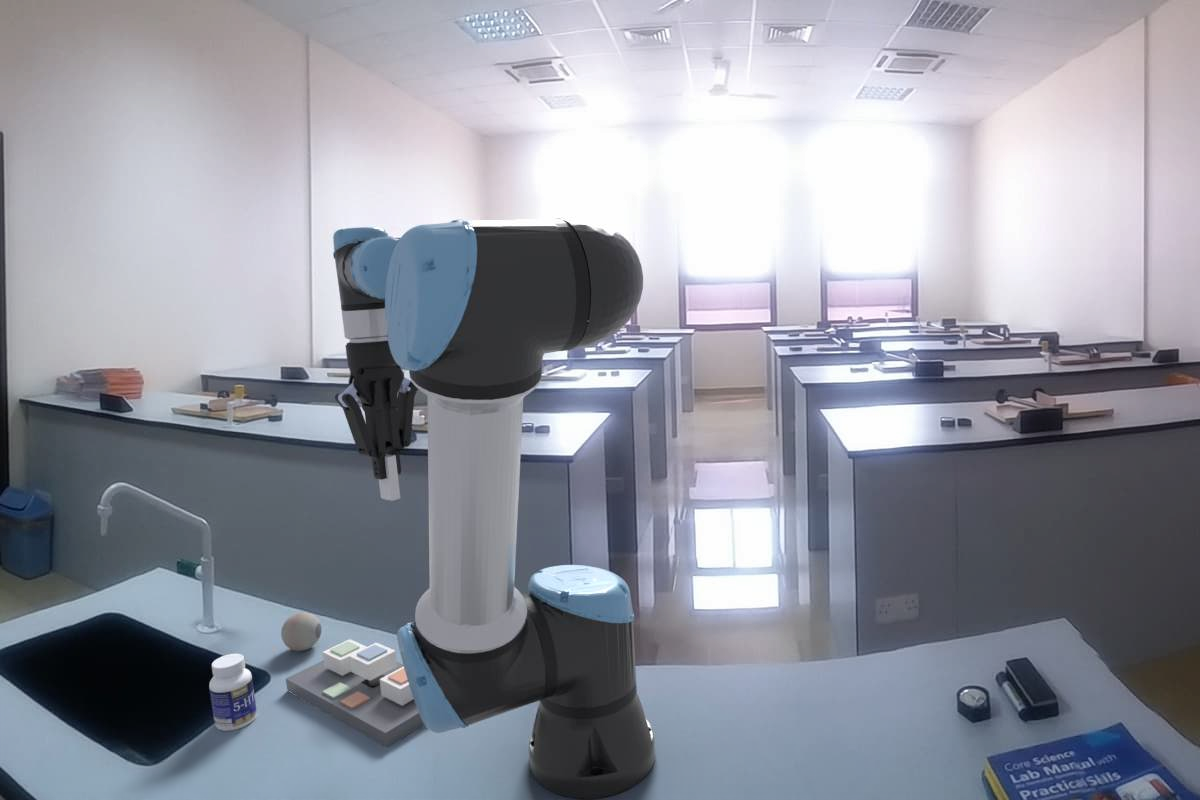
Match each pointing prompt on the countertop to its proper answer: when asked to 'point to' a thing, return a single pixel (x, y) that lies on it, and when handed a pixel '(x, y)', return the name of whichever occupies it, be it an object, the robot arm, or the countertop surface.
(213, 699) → the pill bottle
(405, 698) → the key terracotta
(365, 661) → the white boxy piece
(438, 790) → the countertop surface
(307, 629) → the eyeball
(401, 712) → the keypad board
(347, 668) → the key sage
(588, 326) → the robot arm
